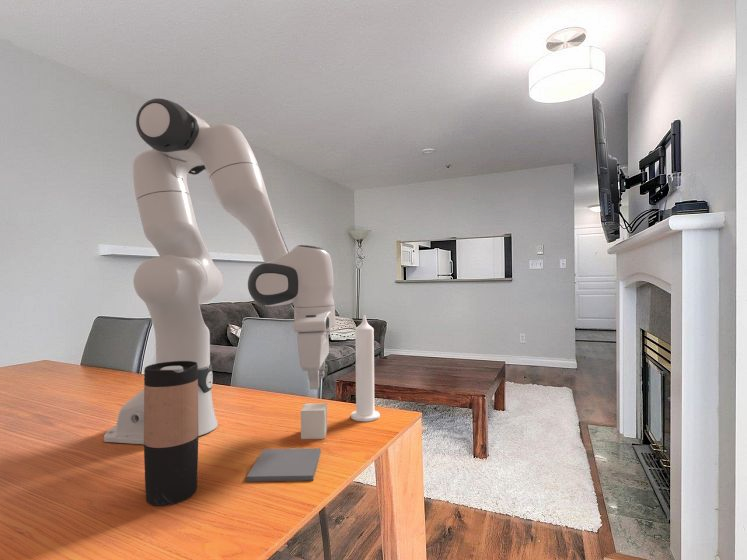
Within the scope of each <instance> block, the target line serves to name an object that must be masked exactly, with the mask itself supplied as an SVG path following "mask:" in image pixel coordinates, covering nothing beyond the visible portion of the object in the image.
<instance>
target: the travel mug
mask: <svg viewBox="0 0 747 560" xmlns="http://www.w3.org/2000/svg"><path fill="white" fill-rule="evenodd" d="M143 373H144V374H143V377H144V378H143V381H144V382H143V389H144V444H143V457H144V458H143V459H144V461H143V462H144V464H143V465H144V487H145V489H144V490H145V501H146V503H147V504H148V505H150V506H155V507H165V506H171V505H175V504H178V503H181V502H184V501H186V500H188V499H190V498H191V497H192V496H193V495H195V494H196V491H197V488H198V463H199V436H198V434H199V430H198V365H197V363H196V362H193V361H172V362H163V363H157V364H156V363H153V364H149V365H147V366H145V367H144V371H143Z"/></svg>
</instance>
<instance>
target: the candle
mask: <svg viewBox="0 0 747 560" xmlns="http://www.w3.org/2000/svg"><path fill="white" fill-rule="evenodd" d="M374 331H375V329H374V327H372V325H370V324H369V322H368V321H367V316H366V314H364V315H363V317H362V320H361V322H360V324H359V325H357V327H355V330H354V332H355V410H354V411H352V412H351V413H350V417H351V418H350V419H352V420H353V421H357V422H373V421H376V420H378V419H380V417H381V414H380V412H379V411H377V410H375V336H374V334H375V332H374Z"/></svg>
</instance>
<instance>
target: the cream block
mask: <svg viewBox="0 0 747 560" xmlns="http://www.w3.org/2000/svg"><path fill="white" fill-rule="evenodd" d="M327 432H328V404H327V403H321V402H320V403H304V404H303V406H302V408H301V410H300V440H325V438H326V435H327Z"/></svg>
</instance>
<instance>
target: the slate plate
mask: <svg viewBox="0 0 747 560" xmlns="http://www.w3.org/2000/svg"><path fill="white" fill-rule="evenodd" d="M321 454H322V449H321V447H320V448H263V449H262V451H261V453H260V454H259V455H258V458H257V459H256V460H255V462H254V464H253V466H252V467H251V469H250V470H249V471H248V473H247V475H246V478H245V479H246V481H245V482H287V481H288V482H290V481H293V482H295V481H296V482H297V481H300V482H301V481H302V482H303V481H314V478H315V474H316V472H317V468H318V464H319V461H320V457H321Z"/></svg>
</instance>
